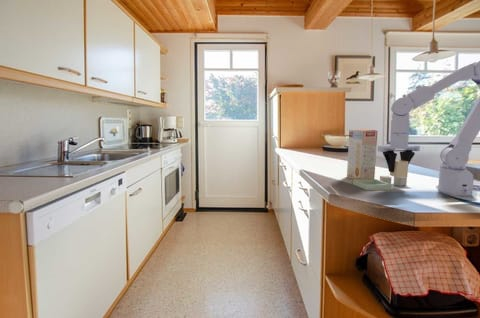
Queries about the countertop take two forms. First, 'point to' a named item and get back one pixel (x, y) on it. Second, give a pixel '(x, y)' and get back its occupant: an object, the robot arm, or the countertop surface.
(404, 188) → the slate board
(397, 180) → the grey pebble
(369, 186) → the sage tray
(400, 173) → the sandstone block
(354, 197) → the countertop surface
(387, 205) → the countertop surface
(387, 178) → the grey pebble
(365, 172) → the cracker box
